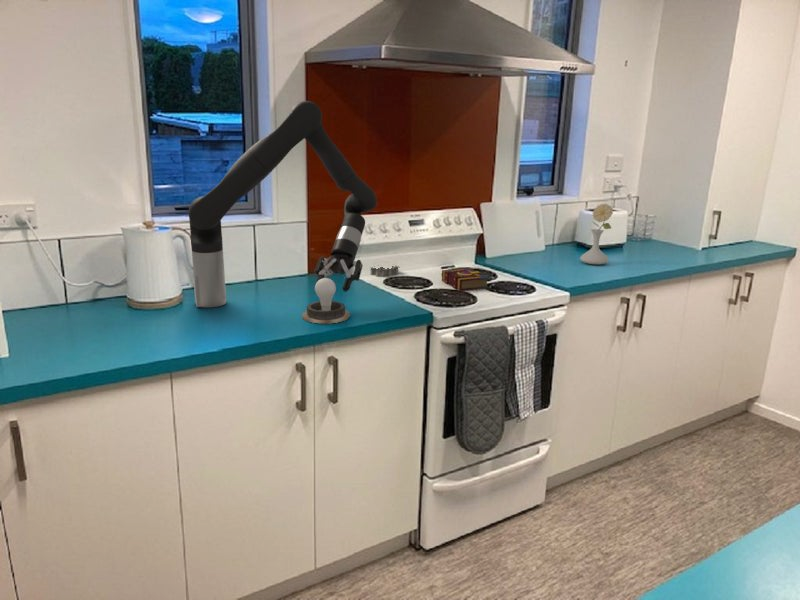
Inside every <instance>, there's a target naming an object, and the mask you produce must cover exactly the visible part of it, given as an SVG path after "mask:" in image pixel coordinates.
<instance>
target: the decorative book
mask: <svg viewBox="0 0 800 600" xmlns="http://www.w3.org/2000/svg"><path fill="white" fill-rule="evenodd" d="M441 272H442V273H441V281H442V282H444V284H446V285H449V286H451V287H452V288H453V289H454V290H458V291H460V292H461V291H462V292H463V291H464V292H465V291H470V290H471V291H472V290H486V289H488V290H489V286H488V280H490V277H489V276H488V275H486V274H482V273H481V272H480V271H477V270H476V271H475V270H474V269H473V268H471V267H460V268H453V269H443V270H441Z"/></svg>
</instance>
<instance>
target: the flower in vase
mask: <svg viewBox="0 0 800 600" xmlns="http://www.w3.org/2000/svg"><path fill="white" fill-rule="evenodd" d="M613 211H614V210H613V207H612V206H611V205H609V204H607V203H600V204H599V205H597V206H596V207H594V210H593V211H592V219H593V220H595V221H597V222H598V223H602V224H601V226H599V224H598V223H595V222H594V221H592V223H593V224H594V225H595V226H597V227H599V228H598V229H596V228H593V229H591V230H590V231H591V233H592V236H593V239H592V242H593V243H592V247H591V248H590V249H589V250H587V251H586V252H585V253H583V254H582V255H581V256H580V258H579V259H580V261H581V262H583V263H585V264H589V265H604V264H607V263H609V261H610V260H609V257H608V256H607V255H606V254H605V253H604V252H603V251H602V250H601V249H600V246H599V245H600V244H599V243H600V239H601V236H602V234H603V232H604V231H605V230H610V229H612V227H611V225H610V223H609V222H607V221H608V220H609V219H610V218H612V217H611V216H612V215H613V213H614V212H613ZM602 227H603V229H604V230H603V229H601V228H602Z"/></svg>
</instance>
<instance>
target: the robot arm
mask: <svg viewBox="0 0 800 600" xmlns="http://www.w3.org/2000/svg"><path fill="white" fill-rule="evenodd" d="M322 120H323V114H322V111H321V108H320V107H319V106H318V104H316V103H314V102H313V101H311V100H301V101H300V100H299V101H298V102H296V103H294V104H293V105H292V106H291V107H290V109H289V113H288V115H287V116H286V118H285V119H284V120H283V121H282V122H281V123H280V124H279V126H277V127H276V128H275V129H274V130H272V131H271V132H270V133H269V134H267V135H265V136H264V137H262V138H261V139H260V140H259V141H257V142H256V143H254V144H253V145H252V146H251V147H249V148H248V149H247V150H246V151H245V152H244V153H243V154H242V155H241V156H240V157H239V158H237V160H236V161H235V162H234V163H233V165H232V166H231V167H230V168H229V169H228V171H227V173H226V174H225V175H224V177H223V178H222V179H221V180H220V182H219V183H218V184H217V185H216V186H214V188H212V189H211V190H210V191H208V193H206V194H205V195H204V196H198V197H197V198H195V199H193V200H192V201H191V202H190V204H189V206H188V218H189V231H190V245H191V257H192V271H193V272H192V273H193V274H192V277H193V289H194V290H193V291H194V301H195V307H196V308H217V307H221V306H223V305H226V304H227V292H226V291H227V290H226V276H225V275H226V274H225V263H224V249H223V248H224V247H223V246H224V245H223V233H222V232H223V231H222V221H221V220H222V219H223V218H224V216H226V214H227V213H228V212H229V211H230V210H231V209H232V207H233V206H235V204H236V203H237V202H238V201H240V200H241V199H242V198H244V197H245V196H246V195H247V194H248V193H250V192H251V191H252V190H253V189H254V188H255V187H256V186H257V185H259V184H260V183H261V182H262V181H264V179H265V178H267V177H268V176H269V175H270V173H272V172H273V171H274V169H276V167H277V166H278V165H279V164H281V162H282V161H283V160H284V159H285V158H286V156H287V155H288V154H289V153H290V152H291V151H292V149H294V147H295V146H297V145H298V144H300V143H301V142H302V141H303V140H306V142H307V143H308V144H309V145H310V147H311V148H312V149H313V151H314V152H315V153H316V155H317V157H318V159H319V160H320V161H321V163H322V164H323V166H324V168H325V169H326V171H327V173H328V174H329V175H330V177H331V179H332V180H333V181H334V183H335V184H336V186H337V187H338V189H339V190H340V191H343V192H345V191H346V192H348V191H349V192H350V194H349V195H348V196H347V197H346V199H345V201H344V207H343V220H342V223H341V226H340V229H339V230H338V232H337V235H336V237H335V241H334V243H333V246H332V248H331V252H330V256H329V257H327V258H325V257H324V256H320V257H319V258H318V261H317V263H316V265H315V268H314V269H313V273H314V274H315V276H316V277H317V279H316V283H317V282H318V281H319V280H320V279H322V278H328V276H331V275H332V274H339V275H344V274H345V275H346V278H345V280H344V283H343V286H342V290H343V292H344V293H347V292H348V291H350V288H351V286H352V283H353V282H354V281H356V282H359V280H360V278H361V274H362V270H363V262H362V261H361V260H360V259H358V260H356V261H355V259H356V257H357V253H358V250H359V249H360V244H361V241H362V235H363V233H364V230H365V226H366V219H365V218H364V216H362V214H364V213H365V214H366V213H368V212H370V211H372V210H374V209H375V208H376V207H377V204H378V199H377V195H376V194H375V191H374V190H373V189H372V188H371V187H370V186H369V185H368V184H367V183H366V182H364V180H362V178H360V177H359V176H358V175H357V174H356V171H355V170H354V169H353V167H352V165H351V164H350V163H349V161H348V159H346V157H345V156H344V154H343V153H342V152H341V151H340V149H339V148H338V147H337V146H336V145H335V143H334V142H333V141H332V140H331V137H330V136H329V134H328V133H327V132H326V130H325V127H324V126H323V124H322ZM353 267H354V270H353V274H352V273H351V271H350V269H352V268H353ZM316 283H315V284H316Z"/></svg>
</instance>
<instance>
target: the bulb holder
mask: <svg viewBox="0 0 800 600" xmlns="http://www.w3.org/2000/svg"><path fill="white" fill-rule="evenodd" d="M350 316H351V315H350V312H349V311H348V310H346V305H345V304H344V303H343V302H339V301H335V300H332V302H331V310H330V311H322V306H321V302H320V300H318V301H313V302H311V303H309V304H308V305H307V306H306V310H305V311H303V312H302V320H303V319H304V321H305V320H306V321H308V322H307V323H309V322H312V323H311V324H314V323H318V324H317V325H333V324H332V323H336V324H339V323H338V322H341V323H343V322H342V321H344V322H345V320H346V321H348V320H349V319H350V318H349V317H350ZM348 318H349V319H348ZM347 319H348V320H347ZM306 321H305V322H306Z"/></svg>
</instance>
